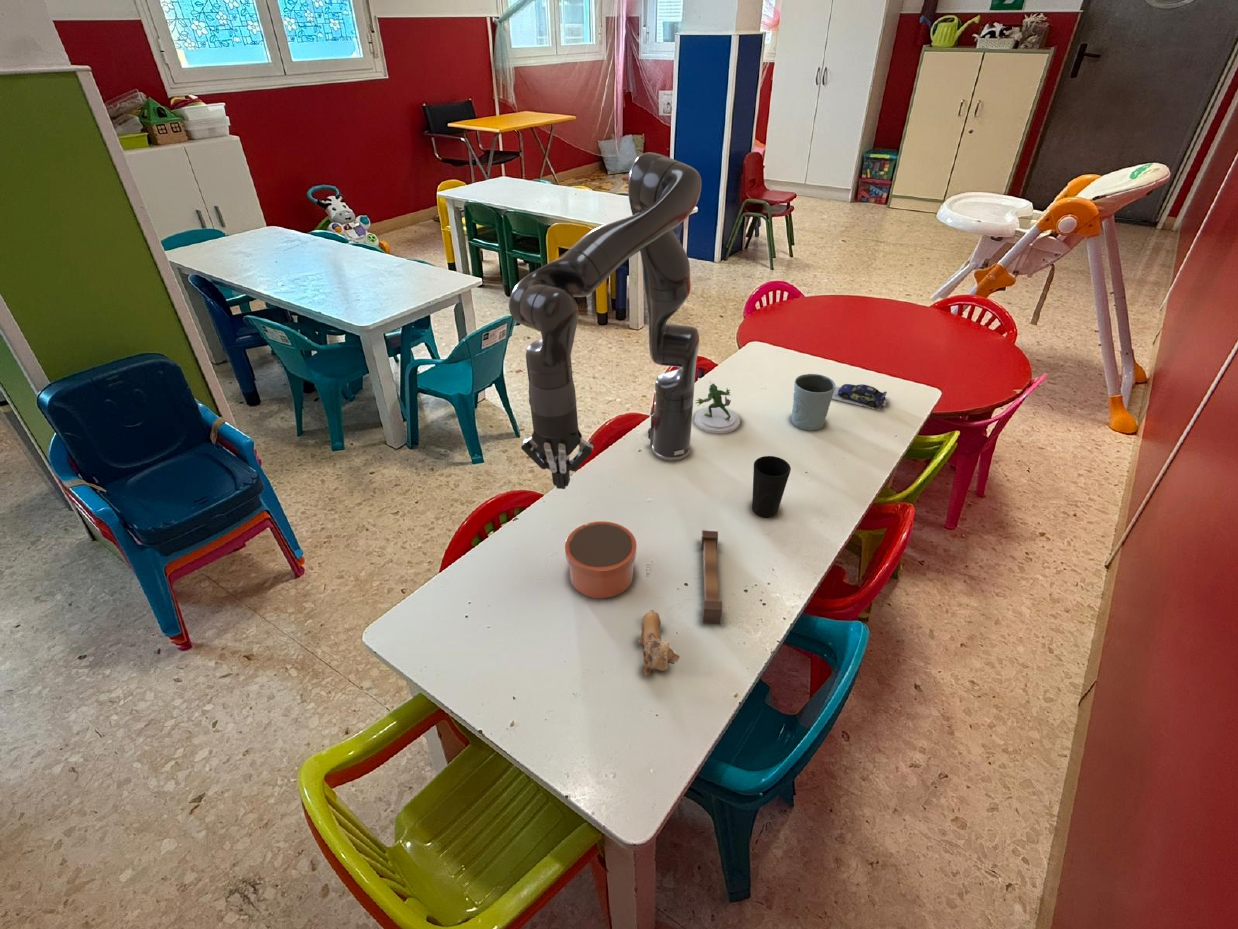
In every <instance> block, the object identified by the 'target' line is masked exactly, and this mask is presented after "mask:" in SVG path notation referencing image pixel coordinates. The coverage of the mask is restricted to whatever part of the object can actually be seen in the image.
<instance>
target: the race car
mask: <svg viewBox="0 0 1238 929" xmlns="http://www.w3.org/2000/svg"><path fill="white" fill-rule="evenodd" d="M887 393H888V391H883V392H882V391H880V390H878V389H877V387H874V386H871V385H868V384H863V383H861V384H852V383H850V384H849V383H844V384H842V385H841V386H840V387H837V386H836V387H835V390H834V393H833V396H832V399H831V401H837V402H840V403H841V402H842V403H846V404H850V405H855V406H859V407H863V408H867V409H868V408H869V409H873V410H876V411H881V409H882V406H883V407H886V406H887V399H886V396H887Z"/></svg>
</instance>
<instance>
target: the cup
mask: <svg viewBox="0 0 1238 929" xmlns="http://www.w3.org/2000/svg"><path fill="white" fill-rule="evenodd" d="M791 468H792V467H791V464H790V463H789V462H788V461H786V460H785V459H783V458H781V457H778V456H775V455H774V456H773V455H764V456H761V457H758V458H756V459H755V460H754V462H753V473H752V474H753V476H752V500H751V505H752V506H751V510H752V512H753V514H755V515H756V516H758V517H760V518H764V519H770V518H773V517H776V516H777V514H778V511H779V509H780V505H781V502H782V499H783V496H784V493H785V491H786V490H785V489H786V486H787V483H788V480H789V477H790V473H791V470H792V469H791Z"/></svg>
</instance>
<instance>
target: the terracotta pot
mask: <svg viewBox="0 0 1238 929" xmlns="http://www.w3.org/2000/svg"><path fill="white" fill-rule="evenodd" d="M637 545H638V544H637V540H636V538H635V536H634V534H633V533H632V532H631V531H630V529H628V528H626V527H625V526H623V525H621V524H618V523H616V522H612V521H605V520H603V521H602V520H601V521H592V522H587V523H585V524H582V525H580V526H578V527H577V528H575V529H574V530H572V531H571V533H569V534H568V536H567V538H566V540H565V543H564V552H565V559H566V562H567V564H568V566H569V578H570V582H571V584H572V586H573V588H574V589H575V590H576V591H577V592H579V593H581V594H582V595H584V596H586V597H588V598H594V599H608V598H612V597H616V596H618V595H620V594H622V593H623V592H624V591H626V590H627V589H628V588H629V587H630V585H631V583H632V582H633V578H634V562H635V561H636V557H637V547H638V546H637Z"/></svg>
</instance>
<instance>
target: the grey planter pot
mask: <svg viewBox="0 0 1238 929" xmlns="http://www.w3.org/2000/svg"><path fill="white" fill-rule="evenodd" d="M793 385H794V387H793V391H794V392H793V398H792V399H793V401H792V410H791V411H792V412H791V423H792V424H793V426H795V427H797V428H798V429H801V430H805V431H818V430H820V429H822V428H823V427H824V425H825V422H826V417H827V415H828V413H829V410H830V406H831V401H832V396H833V393H834V390H835V389H836V388H837V386H836V382H835V381H834V380H833V379H831V378H829V377H828V376H826V375H822V374H819V373H806V374H801V375H798V376H797V377H796V378H795V379H794V384H793Z"/></svg>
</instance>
